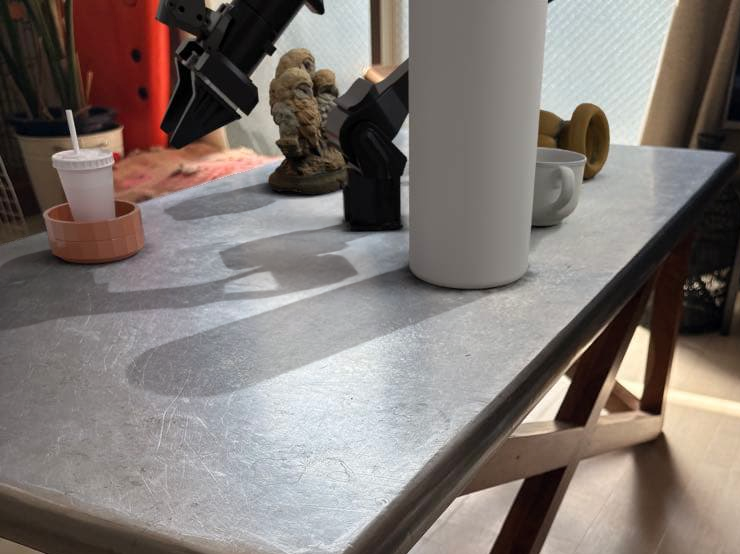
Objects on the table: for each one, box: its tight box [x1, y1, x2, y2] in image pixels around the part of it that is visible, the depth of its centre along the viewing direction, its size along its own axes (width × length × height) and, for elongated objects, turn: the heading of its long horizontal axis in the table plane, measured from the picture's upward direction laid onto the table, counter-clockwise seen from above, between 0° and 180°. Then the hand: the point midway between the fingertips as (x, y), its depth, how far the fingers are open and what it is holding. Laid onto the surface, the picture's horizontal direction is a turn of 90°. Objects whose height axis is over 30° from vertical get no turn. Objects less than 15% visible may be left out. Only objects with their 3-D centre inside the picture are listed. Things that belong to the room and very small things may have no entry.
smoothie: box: [51, 109, 116, 222], centre depth 95 cm, size 6×6×14 cm
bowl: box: [42, 198, 147, 264], centre depth 98 cm, size 10×10×4 cm
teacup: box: [531, 147, 587, 227], centre depth 106 cm, size 14×11×8 cm
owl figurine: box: [267, 47, 351, 195], centre depth 121 cm, size 18×12×17 cm, turn 165°
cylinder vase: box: [408, 0, 549, 290], centre depth 86 cm, size 12×12×25 cm
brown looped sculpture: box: [537, 102, 611, 180], centre depth 127 cm, size 18×13×22 cm
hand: (168, 138), depth 96 cm, fingers open, 9 cm apart
